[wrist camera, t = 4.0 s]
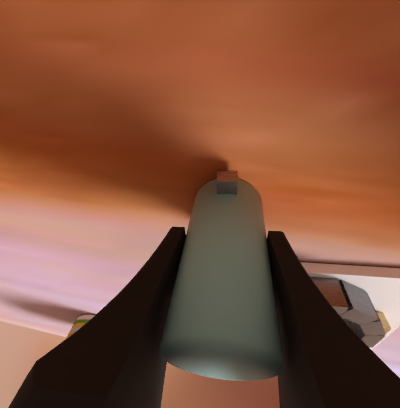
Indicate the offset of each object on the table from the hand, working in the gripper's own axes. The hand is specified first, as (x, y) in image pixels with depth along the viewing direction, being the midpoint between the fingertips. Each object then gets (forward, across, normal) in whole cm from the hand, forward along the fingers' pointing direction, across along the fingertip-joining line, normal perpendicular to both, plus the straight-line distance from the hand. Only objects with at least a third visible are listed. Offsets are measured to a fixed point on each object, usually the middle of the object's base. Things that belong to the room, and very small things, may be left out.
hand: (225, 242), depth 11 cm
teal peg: (+3, 0, 0) cm, 3 cm away
